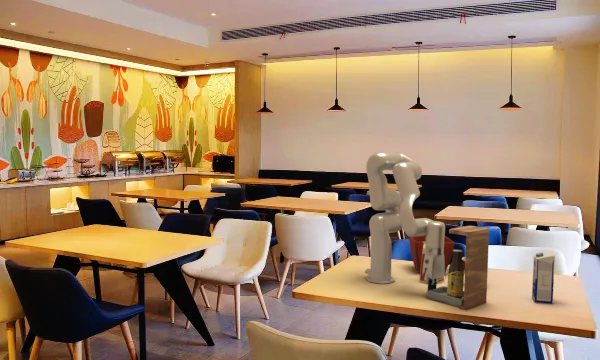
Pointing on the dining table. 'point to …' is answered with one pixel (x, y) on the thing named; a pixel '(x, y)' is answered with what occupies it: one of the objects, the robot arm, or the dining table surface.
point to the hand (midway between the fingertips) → (431, 293)
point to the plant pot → (417, 250)
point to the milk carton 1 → (422, 268)
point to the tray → (444, 296)
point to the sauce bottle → (456, 275)
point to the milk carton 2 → (543, 278)
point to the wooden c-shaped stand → (475, 265)
